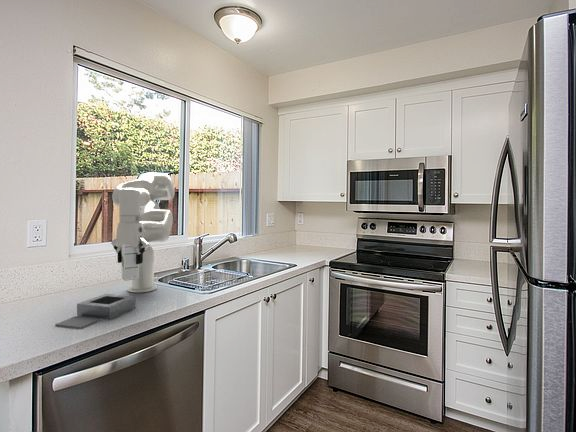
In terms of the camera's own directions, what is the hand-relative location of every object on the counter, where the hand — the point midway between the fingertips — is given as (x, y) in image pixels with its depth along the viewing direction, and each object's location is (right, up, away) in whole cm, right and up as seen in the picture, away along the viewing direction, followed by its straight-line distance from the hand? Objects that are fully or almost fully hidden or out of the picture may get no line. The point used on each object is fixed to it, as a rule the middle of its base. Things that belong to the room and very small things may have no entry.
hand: (130, 262), depth 135 cm
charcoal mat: (-6, -17, -23) cm, 29 cm away
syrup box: (0, -7, 0) cm, 7 cm away
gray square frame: (-3, -17, -12) cm, 20 cm away
